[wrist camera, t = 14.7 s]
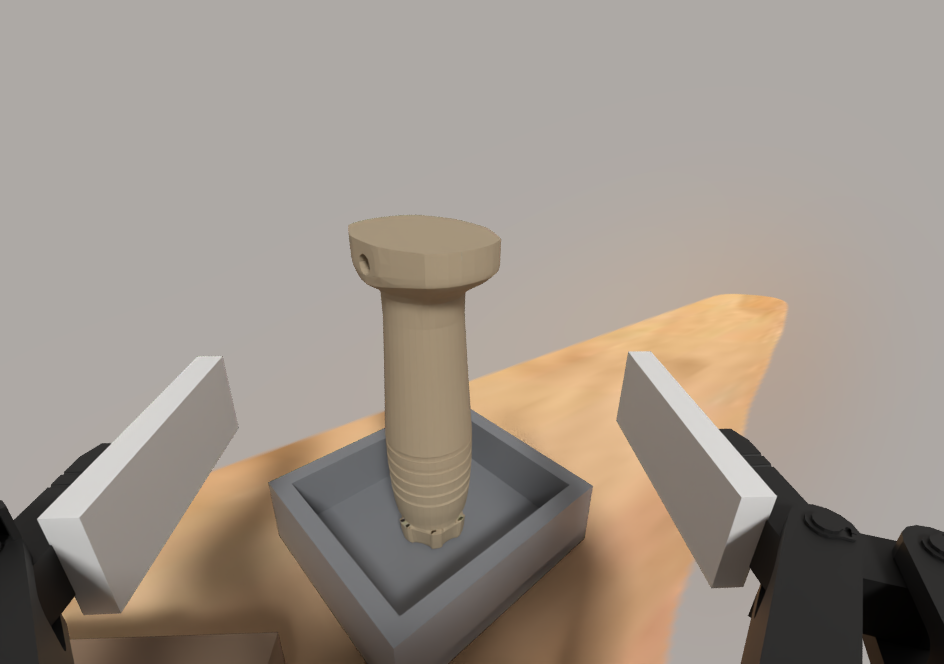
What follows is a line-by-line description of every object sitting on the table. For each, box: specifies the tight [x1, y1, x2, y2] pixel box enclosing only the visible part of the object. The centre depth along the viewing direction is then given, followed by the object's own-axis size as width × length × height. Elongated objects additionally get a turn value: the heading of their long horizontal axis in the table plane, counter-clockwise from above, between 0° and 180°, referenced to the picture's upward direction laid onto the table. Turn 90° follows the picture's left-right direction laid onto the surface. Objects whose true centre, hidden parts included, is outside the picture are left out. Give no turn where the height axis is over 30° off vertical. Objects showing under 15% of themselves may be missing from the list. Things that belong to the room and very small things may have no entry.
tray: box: [268, 410, 593, 664], centre depth 24 cm, size 12×11×4 cm
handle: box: [348, 215, 501, 549], centre depth 21 cm, size 5×6×15 cm
